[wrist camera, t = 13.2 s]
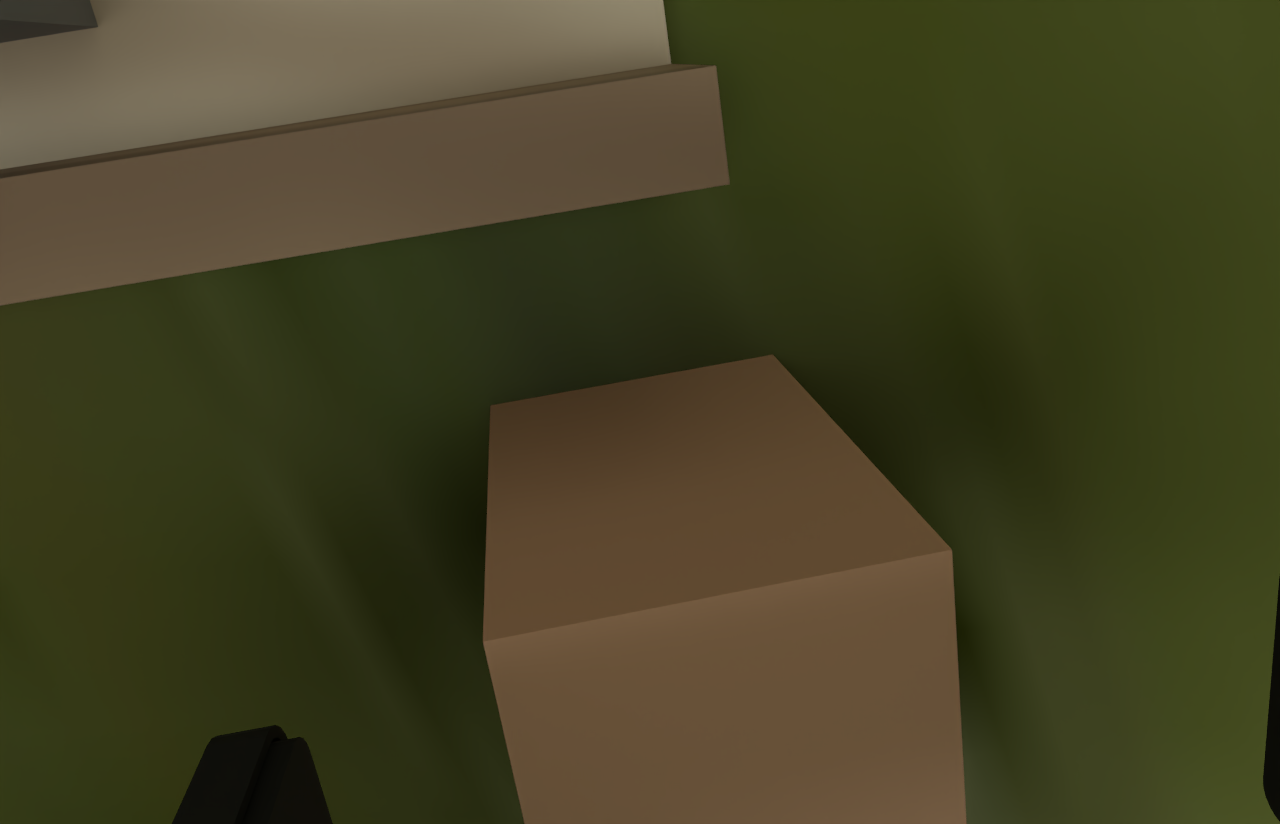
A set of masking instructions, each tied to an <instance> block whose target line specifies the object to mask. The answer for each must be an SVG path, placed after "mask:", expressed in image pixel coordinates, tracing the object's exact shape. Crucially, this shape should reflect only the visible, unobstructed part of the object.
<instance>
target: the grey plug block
mask: <svg viewBox="0 0 1280 824" xmlns="http://www.w3.org/2000/svg"><path fill="white" fill-rule="evenodd" d="M95 27H98V25H97V21H96V18H95V15H94V12H93V9H92V5H91V2H90V0H0V43H4V42H10V41H16V40H22V39H28V38H34V37H40V36H46V35H53V34H59V33H65V32H71V31H77V30H83V29H89V28H95Z"/></svg>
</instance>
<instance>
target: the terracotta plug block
mask: <svg viewBox="0 0 1280 824" xmlns="http://www.w3.org/2000/svg"><path fill="white" fill-rule="evenodd" d="M483 644H484V649H485V653H486V658H487V662H488V666H489V671H490V675H491V679H492V684H493V688H494V692H495V697H496V701H497V705H498V710H499V714H500V719H501V723H502V727H503V732H504V736H505V740H506V745H507V749H508V753H509V758H510V762H511V767H512V771H513V775H514V780H515V784H516V788H517V793H518V797H519V801H520V806H521V810H522V815H523V819H524V823H525V824H967V822H966V804H965V785H964V766H963V747H962V728H961V710H960V691H959V672H958V653H957V634H956V616H955V597H954V578H953V559H952V549H951V548H950V547H949V546H948V545H947V544H946V543H945V542H944V540H943V539H942V538H941V537H940V536H939V535H938V534H937V533H936V532H935V531H934V530H933V528H932V527H931V526H930V525H929V524H928V523H927V522H926V521H925V520H924V519H923V518H922V516H921V515H920V514H919V513H918V512H917V511H916V510H915V509H914V508H913V507H912V506H911V504H910V503H909V502H908V501H907V500H906V499H905V498H904V497H903V496H902V495H901V494H900V492H899V491H898V490H897V489H896V488H895V487H894V486H893V485H892V484H891V483H890V482H889V481H888V479H887V478H886V477H885V476H884V475H883V474H882V473H881V472H880V471H879V470H878V469H877V467H876V466H875V465H874V464H873V463H872V462H871V461H870V460H869V459H868V458H867V457H866V455H865V454H864V453H863V452H862V451H861V450H860V449H859V448H858V447H857V446H856V445H855V443H854V442H853V441H852V440H851V439H850V438H849V437H848V436H847V435H846V434H845V433H844V432H843V430H842V429H841V428H840V427H839V426H838V425H837V424H836V423H835V422H834V421H833V420H832V418H831V417H830V416H829V415H828V414H827V413H826V412H825V411H824V410H823V409H822V408H821V406H820V405H819V404H818V403H817V402H816V401H815V400H814V399H813V398H812V397H811V396H810V394H809V393H808V392H807V391H806V390H805V389H804V388H803V387H802V386H801V385H800V384H799V383H798V381H797V380H796V379H795V378H794V377H793V376H792V375H791V374H790V373H789V372H788V371H787V369H786V368H785V367H784V366H783V365H782V364H781V363H780V362H779V361H778V360H777V359H776V357H775V356H774V355H768V356H762V357H757V358H751V359H745V360H740V361H734V362H729V363H723V364H718V365H712V366H707V367H701V368H695V369H690V370H684V371H679V372H673V373H668V374H662V375H657V376H651V377H646V378H640V379H634V380H629V381H623V382H618V383H612V384H607V385H601V386H596V387H590V388H585V389H579V390H573V391H568V392H562V393H557V394H551V395H546V396H540V397H535V398H529V399H524V400H518V401H512V402H507V403H501V404H496V405H490V432H489V464H488V495H487V527H486V559H485V591H484V622H483Z"/></svg>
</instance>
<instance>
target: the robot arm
mask: <svg viewBox="0 0 1280 824" xmlns="http://www.w3.org/2000/svg"><path fill="white" fill-rule="evenodd" d="M1263 785H1264V791H1265V795H1266V798H1267V801H1268V803H1269V805H1270V807H1271V809H1272V811H1273V813H1274V814H1275V816H1276V817H1277V818H1278V820H1279V821H1280V578H1279V590H1278V602H1277V615H1276V627H1275V639H1274V652H1273V664H1272V676H1271V688H1270V701H1269V713H1268V725H1267V738H1266V750H1265V762H1264V775H1263ZM172 824H333V823H332V820H331V817H330V814H329V811H328V807H327V804H326V801H325V798H324V795H323V791H322V788H321V785H320V782H319V778H318V775H317V772H316V769H315V766H314V762H313V759H312V756H311V753H310V750H309V747H308V745H307V743H306V741H305V740H304V739H303V738H301V737H298V738H292V739H287V737H286V734H285V733H284V731H283V730H282V729H281V727H279V726H276V725H274V726H268V727H263V728H257V729H252V730H247V731H241V732H236V733H230V734H225V735H219V736H216V737H214V738H212V739H211V740H210V742H209V744H208V745H207V747H206V749H205V751H204V754H203V756H202V758H201V760H200V763H199V765H198V767H197V769H196V771H195V774H194V776H193V778H192V780H191V783H190V785H189V787H188V789H187V791H186V794H185V796H184V798H183V800H182V803H181V805H180V807H179V809H178V812H177V814H176V816H175V818H174V820H173V823H172Z"/></svg>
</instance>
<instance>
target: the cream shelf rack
mask: <svg viewBox="0 0 1280 824" xmlns="http://www.w3.org/2000/svg"><path fill="white" fill-rule="evenodd" d="M90 2H91V5H92V9H93V12H94V15H95V18H96V21H97V25H98V27H95V28H89V29H83V30H77V31H71V32H65V33H59V34H53V35H46V36H40V37H34V38H28V39H22V40H16V41H10V42H4V43H0V305H6V304H12V303H18V302H24V301H30V300H36V299H42V298H48V297H54V296H60V295H66V294H72V293H78V292H84V291H90V290H96V289H102V288H108V287H114V286H120V285H126V284H132V283H138V282H144V281H150V280H156V279H162V278H168V277H174V276H180V275H186V274H192V273H198V272H204V271H210V270H216V269H222V268H228V267H234V266H240V265H246V264H252V263H258V262H264V261H270V260H276V259H282V258H288V257H295V256H301V255H307V254H313V253H319V252H325V251H331V250H337V249H343V248H349V247H355V246H361V245H367V244H373V243H379V242H385V241H391V240H397V239H403V238H409V237H415V236H421V235H427V234H433V233H439V232H445V231H451V230H457V229H463V228H469V227H475V226H481V225H487V224H493V223H499V222H505V221H511V220H517V219H523V218H529V217H535V216H541V215H547V214H553V213H559V212H565V211H571V210H577V209H583V208H589V207H595V206H601V205H607V204H614V203H620V202H626V201H632V200H638V199H644V198H650V197H656V196H662V195H668V194H674V193H680V192H686V191H692V190H698V189H704V188H710V187H716V186H722V185H728V184H730V182H729V173H728V164H727V156H726V147H725V138H724V130H723V121H722V112H721V104H720V95H719V86H718V78H717V69H716V66H715V65H688V64H671V58H670V50H669V43H668V35H667V27H666V19H665V12H664V4H663V0H90Z"/></svg>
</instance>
